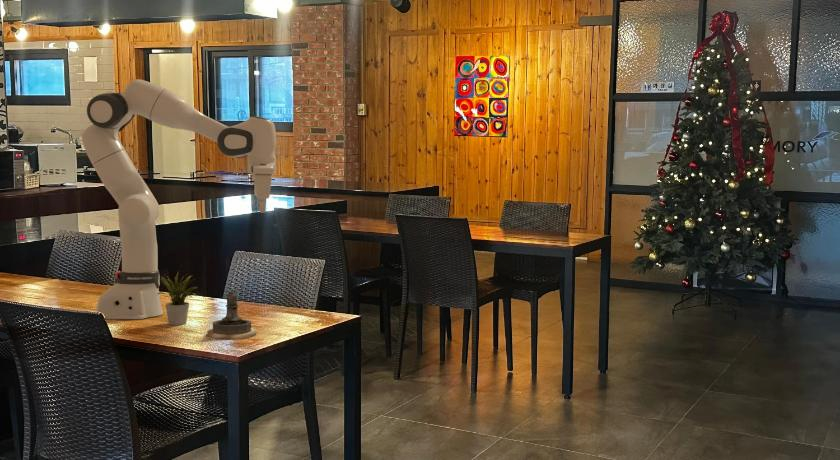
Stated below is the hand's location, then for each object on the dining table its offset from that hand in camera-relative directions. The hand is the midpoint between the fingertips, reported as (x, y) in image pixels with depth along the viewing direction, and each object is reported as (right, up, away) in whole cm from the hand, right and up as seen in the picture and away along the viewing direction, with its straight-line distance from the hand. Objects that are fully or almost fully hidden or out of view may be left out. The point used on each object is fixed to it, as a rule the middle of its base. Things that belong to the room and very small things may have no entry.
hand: (261, 211), depth 297 cm
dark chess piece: (-4, -35, -27) cm, 44 cm away
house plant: (-25, -35, -12) cm, 44 cm away
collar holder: (-4, -36, -27) cm, 45 cm away
